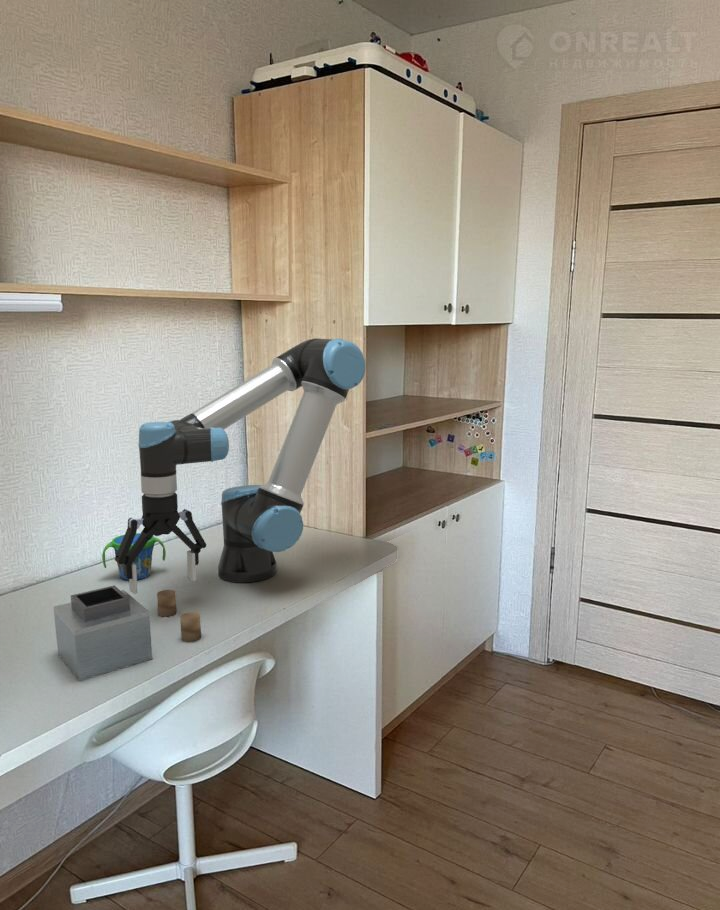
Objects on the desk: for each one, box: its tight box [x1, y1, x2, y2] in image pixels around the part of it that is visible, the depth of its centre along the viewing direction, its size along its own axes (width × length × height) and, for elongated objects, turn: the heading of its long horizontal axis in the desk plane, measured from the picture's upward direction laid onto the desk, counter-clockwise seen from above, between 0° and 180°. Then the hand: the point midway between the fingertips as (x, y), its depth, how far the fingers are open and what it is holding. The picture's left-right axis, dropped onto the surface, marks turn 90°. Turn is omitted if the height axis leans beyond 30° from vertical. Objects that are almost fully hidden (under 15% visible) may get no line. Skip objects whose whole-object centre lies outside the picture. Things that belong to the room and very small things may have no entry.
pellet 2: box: [179, 611, 202, 643], centre depth 149 cm, size 4×4×5 cm
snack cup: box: [101, 532, 167, 581], centre depth 184 cm, size 16×10×10 cm
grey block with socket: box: [53, 584, 153, 682], centre depth 140 cm, size 14×14×12 cm
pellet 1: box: [156, 589, 178, 618], centre depth 161 cm, size 4×4×5 cm
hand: (163, 585), depth 160 cm, fingers open, 13 cm apart
